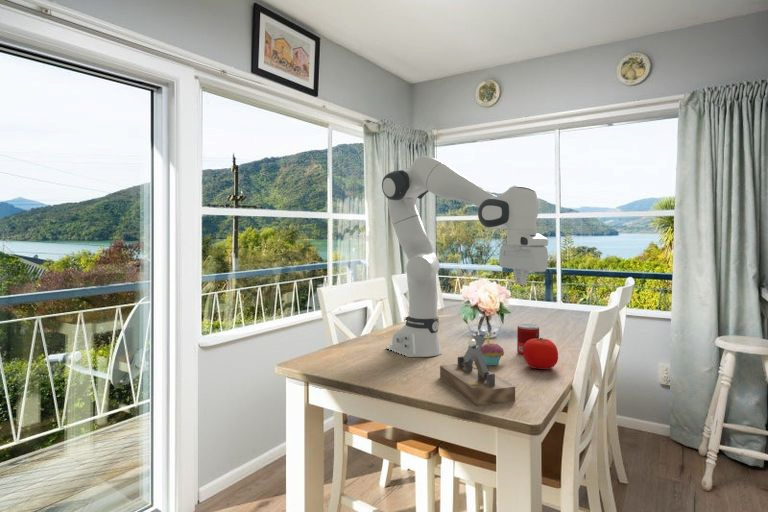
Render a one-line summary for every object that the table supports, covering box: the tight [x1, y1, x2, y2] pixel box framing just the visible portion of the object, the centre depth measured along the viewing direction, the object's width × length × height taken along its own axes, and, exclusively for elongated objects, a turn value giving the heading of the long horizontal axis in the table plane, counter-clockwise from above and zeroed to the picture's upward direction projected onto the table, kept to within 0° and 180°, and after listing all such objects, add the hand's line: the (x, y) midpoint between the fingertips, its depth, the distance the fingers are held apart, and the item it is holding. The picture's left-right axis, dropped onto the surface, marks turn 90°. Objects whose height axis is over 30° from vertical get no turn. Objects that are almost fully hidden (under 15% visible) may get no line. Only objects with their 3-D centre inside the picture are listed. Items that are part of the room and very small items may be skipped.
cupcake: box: [480, 330, 505, 366], centre depth 157 cm, size 9×8×12 cm
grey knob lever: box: [461, 329, 487, 363], centre depth 139 cm, size 2×4×12 cm
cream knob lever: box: [468, 338, 490, 380], centre depth 125 cm, size 2×4×12 cm, turn 16°
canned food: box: [516, 323, 540, 357], centre depth 170 cm, size 8×8×11 cm
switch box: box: [439, 355, 516, 407], centre depth 132 cm, size 12×24×7 cm, turn 17°
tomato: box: [522, 337, 559, 370], centre depth 152 cm, size 11×12×10 cm
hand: (520, 284), depth 135 cm, fingers closed
